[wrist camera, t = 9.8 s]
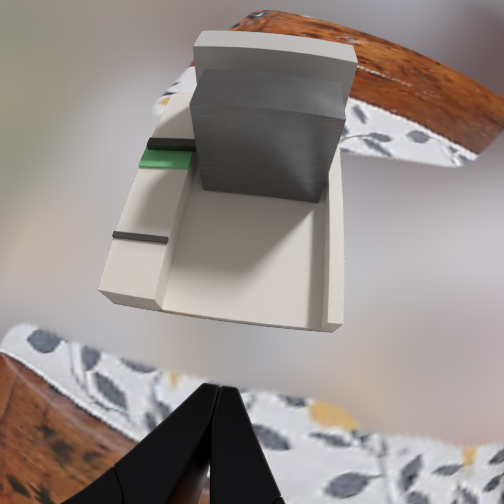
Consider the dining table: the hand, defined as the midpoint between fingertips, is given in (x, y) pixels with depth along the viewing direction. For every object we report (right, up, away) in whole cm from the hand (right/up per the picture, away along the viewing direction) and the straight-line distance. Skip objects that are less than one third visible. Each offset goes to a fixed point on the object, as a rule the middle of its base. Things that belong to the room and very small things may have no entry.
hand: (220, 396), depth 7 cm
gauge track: (0, +8, +18) cm, 20 cm away
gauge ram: (-1, +10, +18) cm, 21 cm away
